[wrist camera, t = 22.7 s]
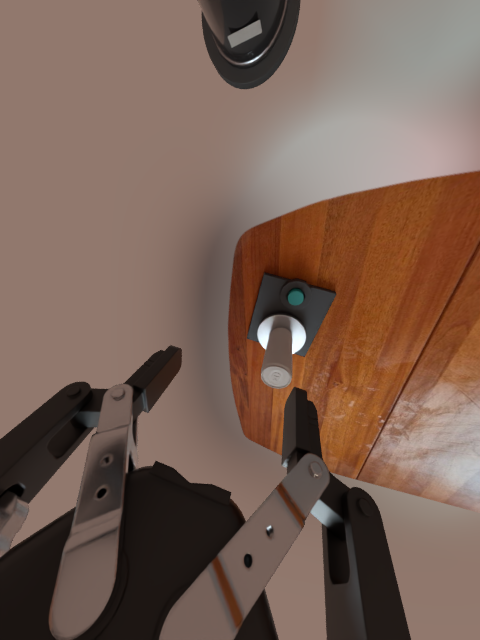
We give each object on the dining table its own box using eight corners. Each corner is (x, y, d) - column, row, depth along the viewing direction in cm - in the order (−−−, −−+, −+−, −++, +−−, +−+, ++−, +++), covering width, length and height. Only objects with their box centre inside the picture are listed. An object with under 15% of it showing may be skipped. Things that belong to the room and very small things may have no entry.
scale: (265, 268, 37) (263, 271, 34) (337, 287, 35) (340, 292, 32) (247, 335, 45) (245, 342, 43) (304, 353, 44) (304, 361, 41)
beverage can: (267, 341, 40) (257, 383, 30) (272, 323, 38) (263, 361, 27) (288, 348, 39) (286, 392, 29) (295, 329, 37) (296, 371, 27)
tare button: (290, 286, 34) (290, 289, 33) (305, 290, 34) (306, 293, 33) (286, 299, 36) (285, 303, 35) (300, 304, 35) (300, 307, 34)
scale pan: (264, 307, 37) (263, 308, 37) (313, 321, 36) (314, 323, 35) (253, 344, 42) (252, 346, 42) (296, 358, 41) (296, 361, 41)
